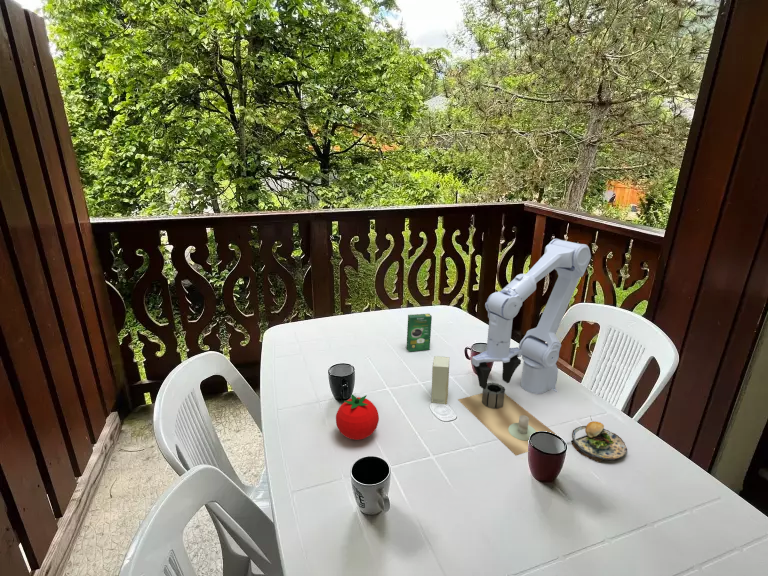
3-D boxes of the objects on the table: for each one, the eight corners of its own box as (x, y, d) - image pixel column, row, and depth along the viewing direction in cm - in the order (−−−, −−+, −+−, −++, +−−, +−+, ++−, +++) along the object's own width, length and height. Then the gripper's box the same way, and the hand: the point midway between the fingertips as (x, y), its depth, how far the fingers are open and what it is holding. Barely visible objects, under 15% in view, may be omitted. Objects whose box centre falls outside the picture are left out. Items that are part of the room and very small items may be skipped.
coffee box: (428, 346, 147) (429, 312, 143) (430, 350, 144) (432, 315, 140) (406, 348, 146) (407, 314, 141) (408, 352, 143) (409, 317, 139)
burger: (603, 471, 90) (609, 443, 88) (559, 440, 100) (563, 413, 98) (637, 454, 95) (644, 426, 93) (592, 425, 105) (597, 400, 103)
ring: (494, 395, 116) (496, 381, 115) (507, 405, 111) (509, 391, 110) (478, 399, 114) (479, 385, 113) (490, 410, 109) (492, 395, 108)
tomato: (384, 426, 104) (384, 391, 101) (369, 453, 95) (369, 416, 92) (346, 417, 108) (345, 384, 105) (329, 443, 98) (327, 407, 95)
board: (498, 391, 119) (500, 376, 118) (562, 443, 98) (565, 425, 97) (457, 402, 114) (458, 386, 113) (515, 459, 93) (517, 440, 92)
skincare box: (446, 407, 112) (449, 367, 108) (430, 405, 113) (432, 366, 109) (448, 395, 118) (450, 356, 114) (432, 393, 119) (434, 355, 115)
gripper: (485, 349, 100) (480, 397, 104) (532, 339, 106) (526, 386, 110) (468, 337, 106) (465, 384, 111) (513, 329, 112) (508, 373, 116)
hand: (494, 384), depth 111 cm, fingers open, 7 cm apart
